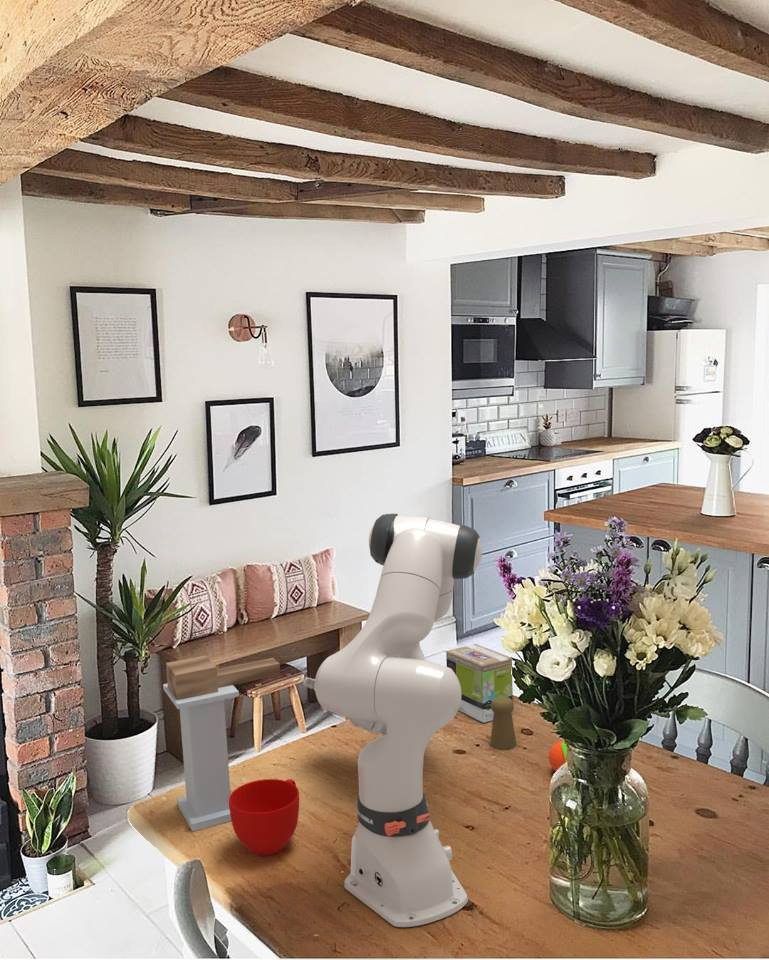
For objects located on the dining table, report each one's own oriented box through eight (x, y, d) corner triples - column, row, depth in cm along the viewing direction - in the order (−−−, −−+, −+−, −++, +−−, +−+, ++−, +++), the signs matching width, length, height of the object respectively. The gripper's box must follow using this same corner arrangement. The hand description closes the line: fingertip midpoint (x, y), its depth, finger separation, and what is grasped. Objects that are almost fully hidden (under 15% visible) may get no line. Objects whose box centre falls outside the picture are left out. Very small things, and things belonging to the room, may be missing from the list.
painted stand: (247, 816, 177) (238, 691, 174) (187, 832, 172) (177, 704, 169) (229, 791, 188) (221, 672, 184) (172, 806, 183) (163, 684, 179)
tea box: (514, 714, 222) (513, 657, 220) (482, 724, 216) (481, 666, 214) (477, 696, 234) (475, 641, 232) (446, 705, 229) (444, 649, 227)
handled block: (283, 678, 180) (282, 654, 179) (177, 700, 171) (175, 675, 170) (270, 666, 187) (269, 643, 186) (167, 687, 178) (165, 662, 177)
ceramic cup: (324, 824, 173) (321, 776, 172) (278, 871, 158) (275, 818, 157) (267, 812, 179) (264, 765, 177) (217, 857, 163) (214, 805, 162)
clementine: (583, 784, 185) (582, 751, 184) (549, 782, 186) (548, 750, 185) (581, 766, 193) (581, 735, 192) (548, 765, 194) (548, 733, 193)
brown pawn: (487, 748, 203) (486, 702, 202) (492, 737, 209) (491, 692, 207) (514, 751, 201) (513, 704, 200) (518, 739, 207) (517, 694, 206)
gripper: (352, 679, 203) (302, 660, 197) (393, 710, 185) (339, 689, 179) (341, 705, 203) (290, 686, 197) (381, 738, 185) (325, 719, 178)
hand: (313, 688), depth 188 cm, fingers open, 8 cm apart
